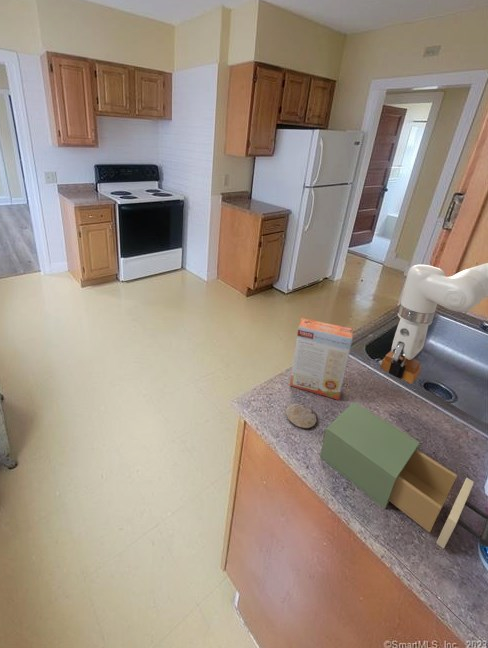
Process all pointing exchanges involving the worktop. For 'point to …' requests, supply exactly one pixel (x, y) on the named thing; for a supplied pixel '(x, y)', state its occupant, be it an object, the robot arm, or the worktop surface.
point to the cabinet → (367, 451)
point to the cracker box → (321, 357)
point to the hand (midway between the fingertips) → (399, 370)
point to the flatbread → (301, 415)
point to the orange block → (410, 369)
